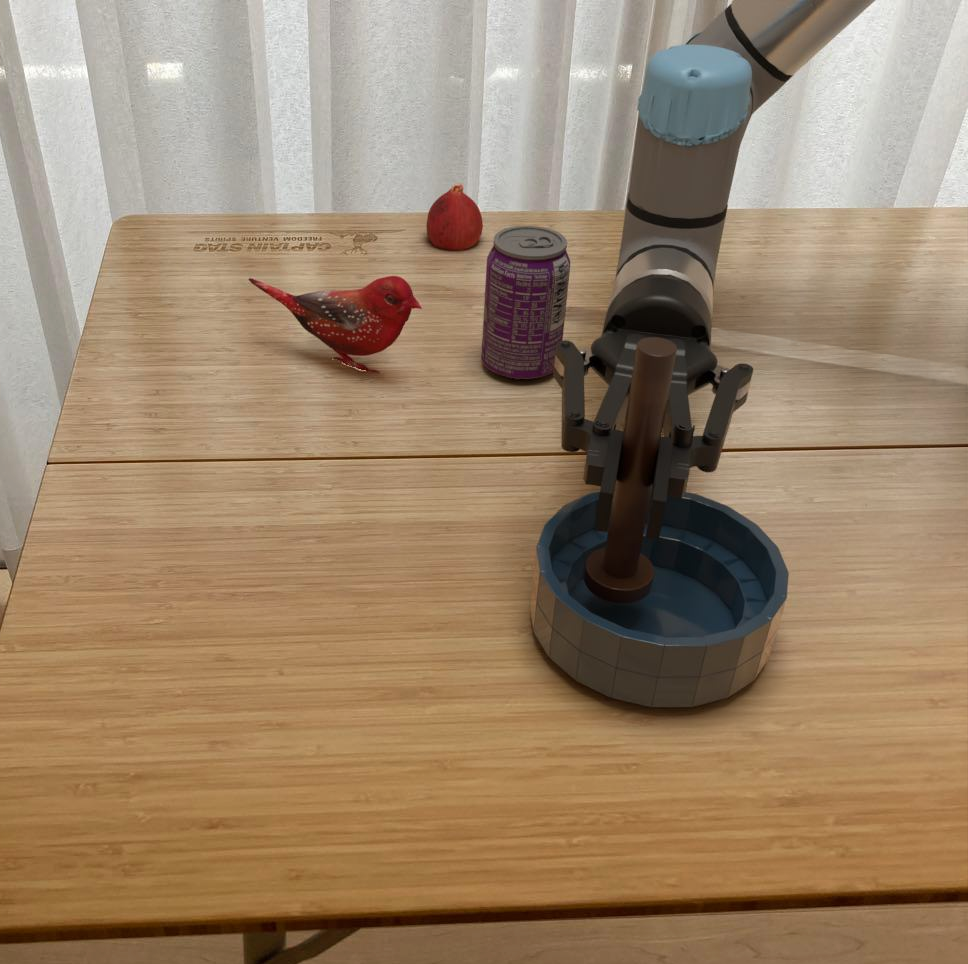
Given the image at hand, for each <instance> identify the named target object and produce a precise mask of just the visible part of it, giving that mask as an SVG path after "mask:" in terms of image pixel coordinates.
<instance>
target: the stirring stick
mask: <svg viewBox="0 0 968 964" xmlns="http://www.w3.org/2000/svg"><path fill="white" fill-rule="evenodd" d="M676 352H677V347H676V345H675V344H674V343H673V342H671V341H669V340H667V339H664V338H659V337H648V338H644V339H641V340H640V341H639V342H638V343H637V347H636V354H635V360H634V366H633V373H632V379H631V386H630V392H629V399H628V405H627V412H626V415H625V418H624V425H623V430H622V431H623V438H622V447H621V453H620V460H619V466H618V473H617V479H616V485H615V491H614V497H613V503H612V509H611V515H610V522H609V528H608V535H607V541H606V547H604V548H600V549H598V550H596V551H594V552H593V553H591V555H590V556H589V557H588V558H587V560H586V564H585V571H584V582H585V585H586V587H587V588H588V589H589V591H590V592H591V593H592V594H594V595H595V596H597V597H598V598H600V599H603V600H605V601H608V602H612V603H619V604H627V603H633V602H637V601H639V600H641V599H643V598H645V597H646V596H647V595H648V594H649V592H650V591H651V588H652V583H653V578H654V567H653V565H652V563H651V562H650V560H649V559H648V558H647V557H646V556H644V555H643V554H641V553H640V552H641V546H642V541H643V535H644V530H645V524H646V519H647V513H648V508H649V502H650V496H651V491H652V484H653V478H654V473H655V467H656V461H657V456H658V450H659V446H660V441H661V436H663V435H662V434H663V424H664V419H665V413H666V408H667V402H668V397H669V391H670V386H671V380H672V375H673V369H674V363H675V358H676Z"/></svg>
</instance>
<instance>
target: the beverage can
mask: <svg viewBox="0 0 968 964" xmlns="http://www.w3.org/2000/svg"><path fill="white" fill-rule="evenodd" d="M567 246H568V240H567V237H565V236H564V235H563V234H562V233H561V232H558V231H557V230H554V229H551V228H548V227H544V226H537V225H516V226H509V227H506V228H502V229H501V230H499V231H497V233H495V234H494V236H493V246H492V248H491V249H490V250H489V252H488V255H487V258H486V270H485V286H484V287H485V288H484V303H483V304H484V306H483V322H482V340H481V355H480V357H481V358H480V359H481V361H482V363H483V365H484V366H485V367H486V368H487V369H489V371H491V372H493V373H495V374H497V375H500V376H502V377H505V376H506V377H505V378H508V377H509V378H508V379H512V378H514V379H513V380H520V379H526V380H532V379H538V378H543V377H545V376H548V375H550V374H552V373H553V372H554V363H555V354H556V344H557V342H559V341H562V340H564V338H563V337H564V330H565V321H566V319H565V318H566V310H567V301H568V291H569V284H570V283H569V282H570V272H571V259H570V257H569V254H568V252H567Z"/></svg>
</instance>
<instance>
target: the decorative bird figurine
mask: <svg viewBox="0 0 968 964" xmlns="http://www.w3.org/2000/svg"><path fill="white" fill-rule="evenodd" d="M248 281H249V282H250V283H251V284H252V285H253V286H255V287H256V288H258V289H259V290H260V291H262V292H264V293H265V294H267V296H270V297H271V298H272V299H275V300H276V301H277V302H279V303H280V304H282V305H283V307H285V308H286V309H287V310H288V311H289V312H290V313H291V314H292V315H293V316H294V318H295V319H296V320H297V322H298V323H299V324H300V325H301V327H302V328H303V329H304V330H305V331H306V332H307V333H310V335H312V336H314V337H315V338H317V339H318V340H319V341H320V342H322V343H324V344H325V346H327V347H329V348H330V349H332V350H333V351H334V352H335V353H336V354H337V355H339V356H334V357H332V358H333V359H337V360H336V361H338V360H339V362H343V363H345V364H346V365H349V366H352V367H356V368H358V369H361V370H366V371H367V372H368V371H370V372H369V373H375V374H379V375H380V374H381V371H379V370H376V369H372V368H369V367H368V366H366V364H363V363H360V362H357V361H355V360H354V359H353V358H352V357H351V356H354V357H355V356H358V357H366V356H371V355H375V354H378V353H380V352H383V351H385V350H386V349H387V348H389V347H391V346H392V345H393V344H394V343H395V342H396V340H397V339H398V338H399V337H400V335H401V333H402V331H403V329H404V326H405V325H406V323H407V322H409V319H410V316H411V314H412V309H420V310H423V308H422V306H421V304H420V302H419V301H418V300H417V299H416V297H415V295H414V292H413V289H412V287H411V285H410V284H409V282H408V281H407V280H406V279H404V278H402V277H401V276H397V275H388V276H384V277H380V278H377V279H374V280H373V281H371V282H370V283H368V284H367V285H366V286H364V287H362V288H358V289H348V290H347V289H345V290H344V289H339V290H337V289H330V290H319V291H313V292H308V293H307V292H306V293H303V294H299V295H294V294H291V293H290V292H289V293H288V292H286V291H284V290H282V289H279V288H276V287H274V286H272V285H270V284H267V283H265V282H262V281H260V280H257V279H254V278H251V277H250V278H248Z"/></svg>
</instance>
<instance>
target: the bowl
mask: <svg viewBox="0 0 968 964" xmlns="http://www.w3.org/2000/svg"><path fill="white" fill-rule="evenodd" d="M599 494H600V490H597V491H594V492H590V493H587V494H585V495H583V496H581V497H579V498H577V499H575V500H573V501H569V502H568V503H566V504H564V505H563V506H561V508H559V509H558V510H557V511H556V513H555V514H553V516H551V517H550V518H549V519H548V520H547V522H545V524H544V525H543V528H542V529H541V532H540V535H539V538H538V541H537V544H536V546H535V555H534V565H533V575H532V584H531V594H530V595H531V596H530V603H529V605H530V606H529V609H530V616H531V622H532V625H531V626H532V631H533V633H534V636H535V637H536V639H537V640H538V642H539V643H540V645H541V647H542V649H543V651H544V652H545V654H546V655H547V657H548V658H549V659H550V661H552V662H553V663H554V664H556V665H557V666H558V667H559V668H560V669H562V671H564V672H565V673H566V674H567V675H568V676H569V677H571V678H572V679H573V680H574V681H575V682H577V683H580V684H582V685H583V686H586V687H588V688H590V689H592V690H593V691H596V692H598V693H600V694H602V695H603V696H605V697H608V698H611V699H614V700H619V701H622V702H627V703H631V704H637V705H640V706H645V707H649V708H651V707H652V708H694V707H698V706H702V705H705V704H709V703H712V702H717V701H720V700H725V699H727V698H729V697H731V696H732V695H734V694H736V693H737V692H738V691H740V690H742V689H743V688H745V687H746V686H748V685H749V684H751V683H753V682H754V681H756V678H757V677H758V676H759V674H760V673H761V671H762V669H763V668H764V666H765V665H766V663H767V662H768V660H769V659H770V656H771V653H772V649H773V645H774V643H775V639H776V637H777V633H778V628H779V626H780V622H781V619H782V616H783V611H784V608H785V605H786V601H787V599H788V588H789V577H790V574H789V573H790V572H789V570H788V567H787V565H786V562H785V560H784V558H783V555H782V553H781V550H780V548H779V546H778V545H777V544H776V543H775V542H774V541H773V540H772V539H771V538H770V537H769V536H768V535H767V534H766V532H765V531H764V530H763V529H762V528H761V527H760V526H759V525H758V524H757V523H756V522H754V521H753V520H750V519H749V518H748V517H746V516H745V515H743V514H742V513H739V512H738V511H736V510H735V509H734V508H732V507H731V506H728V505H726V504H723V503H721V502H719V501H716V500H714V499H711V498H708V497H705V496H703V495H700V494H698V493H693V492H689V491H686V493H685V495H684V496H683V497H682V499H678V498H671V497H667V501H666V507H665V512H664V517H663V522H662V528H661V533H660V538H659V540H654V539H648V538H646V531H647V523H648V515H649V508H648V513H647V519H646V524H645V530H644V535H643V541H642V546H641V552H640V553H641V554H643V555H644V556H646V557H647V558H648V559H649V560H650V562H651V563H652V565H653V567H654V578H653V583H652V588H651V591H650V592H649V594H648V595H647V596H646V597H645V598H643V599H641V600H639V601H637V602H633V603H627V604H619V603H612V602H608V601H605V600H603V599H600V598H598V597H597V596H595V595H594V594H592V593H591V592H590V591H589V589H588V588H587V587H586V585H585V582H584V571H585V564H586V560H587V558H588V557H589V556H590V555H591V553H593V552H594V551H596V550H598V549H600V548H604V547H606V541H607V535H608V532H603V531H596V530H594V528H595V521H596V514H597V507H598V501H599ZM650 499H651V496H650ZM649 507H650V502H649ZM611 509H612V508H611ZM610 515H611V514H610ZM609 522H610V520H609ZM608 528H609V526H608Z"/></svg>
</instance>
